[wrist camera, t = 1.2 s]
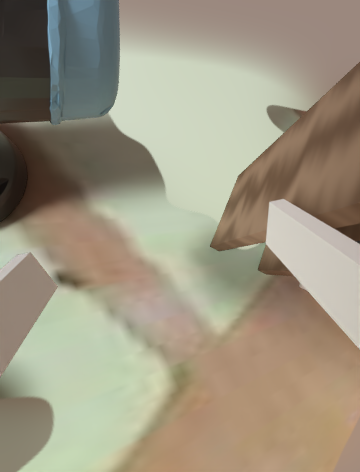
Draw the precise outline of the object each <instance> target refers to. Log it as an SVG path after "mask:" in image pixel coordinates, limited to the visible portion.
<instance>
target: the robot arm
mask: <svg viewBox="0 0 360 472" xmlns="http://www.w3.org/2000/svg"><path fill="white" fill-rule="evenodd" d="M119 30H120V28H119V0H0V123H20V122H42V121H50V122H51V124H52V125H58V124H60V122H61V121H65V120H75V119H86V118H96V117H100V116H103V115H105V114H106V113H108V112H109V110H110V109H111V108H112V107H113V105H114V102H115V99H116V96H117V91H118V83H119V61H120V37H119V36H120V31H119ZM26 183H27V169H26V164H25V161H24V158H23V156H22V154H21V152H20V151H19V149H18V148H17V147H16V145H15V144H14V143H13V142H12V141H11V140H10V139H9V138H8V137H7V136H6V135H5V134H4V133H3V132H2V131H0V222H1V221H2V220H3V219H5V218H6V217H7V216H8V215H9V214H10V213H11V212H12V211H13V210H14V209H15V207H16V206H17V205H18V203H19V202H20V200H21V198H22V196H23V194H24V191H25V188H26ZM266 245H267V246H268V247H269V248H270V249H271V250H272V252H273V253H274V254H275V255H276V256H277V257H278V258H279V259H280V260H281V262H282V263H283V264H284V265H285V266H286V267H287V268H288V269H289V271H290V272H291V273H292V274H293V275H294V276H295V277H296V278H297V280H298V281H299V282H300V283H301V284H302V285H303V286H304V287H305V289H306V290H307V291H308V292H309V293H310V294H311V295H312V296H313V298H314V299H315V300H316V301H317V302H318V303H319V304H320V305H321V307H322V308H323V309H324V310H325V311H326V312H327V313H328V314H329V316H330V317H331V318H332V319H333V320H334V321H335V322H336V323H337V324H338V326H339V327H340V328H341V329H342V330H343V331H344V332H345V333H346V335H347V336H348V337H349V338H350V339H351V340H352V341H353V342H354V344H355V345H356V346H357V347H358V348H359V349H360V241H354V240H352V239H350V238H349V237H347V236H345V235H344V234H342V233H340V232H339V231H337V230H335V229H333V228H332V227H330V226H328V225H327V224H325V223H323V222H322V221H320V220H318V219H317V218H315V217H313V216H312V215H310V214H308V213H307V212H305V211H303V210H302V209H300V208H298V207H297V206H295V205H293V204H291V203H290V202H288V201H286V200H285V199H281V200H276V201H271V202H269V211H268V223H267V234H266ZM57 287H58V286H57V285H56V284H55V282H54V281H53V280H52V279H51V277H50V276H49V275H48V274H47V272H46V271H45V270H44V269H43V267H42V266H41V265H40V264H39V262H38V261H37V260H36V259H35V257H34V256H33V255H32V254H31V252H28V253H24V254H19V255H16V256H15V257H14V258H13V259H12V260H11V261H9V262H8V263H7V264H6V265H5V266H4V267H3V268H2V269H1V270H0V377H1V375H2V374H3V372H4V371H5V369H6V368H7V366H8V364H9V363H10V361H11V360H12V358H13V357H14V355H15V353H16V352H17V350H18V349H19V347H20V345H21V344H22V342H23V341H24V339H25V338H26V336H27V334H28V333H29V331H30V330H31V328H32V327H33V325H34V323H35V322H36V320H37V319H38V317H39V316H40V314H41V312H42V311H43V309H44V308H45V306H46V305H47V303H48V301H49V300H50V298H51V297H52V295H53V293H54V292H55V290H56V289H57Z"/></svg>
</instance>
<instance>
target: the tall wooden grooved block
mask: <svg viewBox="0 0 360 472" xmlns="http://www.w3.org/2000/svg"><path fill="white" fill-rule="evenodd" d="M281 199H285V200H286V201H288V202H290V203H291V204H293V205H295V206H297V207H298V208H300V209H302V210H303V211H305V212H307V213H308V214H310V215H312V216H313V217H315V218H317V219H318V220H320V221H322V222H323V223H325V224H327V225H328V226H330V227H332V228H333V229H335V230H337V231H339V232H340V233H342V234H344V235H345V236H347V237H349V238H350V239H352V240H354V241H360V62H359V63H358V64H357V65H356V66H355V67H354V68H353V69H352V70H351V71H350V72H348V73H347V74H346V75H345V76H344V77H343V78H342V79H341V80H340V81H339V82H338V83H337V84H336V85H335V86H334V87H333V88H331V89H330V90H329V91H328V92H327V93H326V94H325V95H324V96H323V97H322V98H321V99H320V100H319V101H318V102H316V103H315V104H314V105H313V106H312V107H311V108H310V109H309V110H308V111H307V112H306V113H305V114H304V115H303V116H302V117H301V118H299V119H298V120H297V121H296V122H295V123H294V124H293V125H292V126H291V127H290V128H289V129H288V130H287V131H286V132H285V133H283V135H281V136H280V138H278V139H277V140H276V141H275V142H274V143H273V144H272V145H271V146H270V147H269V148H268V149H266V150H265V151H264V152H263V153H262V154H261V155H260V156H259V157H258V158H257V159H256V160H255V161H254V162H253V163H252V164H251V165H249V166H248V167H247V168H246V169H245V170H244V171H243V172H242V173H241V174H240V175H239V176H238V178H237V181H236V183H235V186H234V188H233V191H232V193H231V196H230V198H229V201H228V203H227V205H226V208H225V210H224V213H223V215H222V218H221V220H220V223H219V225H218V228H217V230H216V233H215V235H214V238H213V240H212V243H211V245H210V247H212V248H214V249H216V250H218V251H222V250H228V249H233V248H238V247H242V246H248V245H253V244H258V243H263V242H266V234H267V223H268V211H269V202H271V201H276V200H281ZM258 270H259V271H261V272H263V273H265V274H270V275H286V276H294V275H293V274H292V273H291V272H290V271H289V269H288V268H287V267H286V266H285V265H284V264H283V263H282V262H281V260H280V259H279V258H278V257H277V256H276V255H275V254H274V253H273V252H272V250H271V249H270V248H269V247H268V246H267V245H266V246H265V249H264V252H263V255H262V258H261V261H260V264H259V268H258Z"/></svg>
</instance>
